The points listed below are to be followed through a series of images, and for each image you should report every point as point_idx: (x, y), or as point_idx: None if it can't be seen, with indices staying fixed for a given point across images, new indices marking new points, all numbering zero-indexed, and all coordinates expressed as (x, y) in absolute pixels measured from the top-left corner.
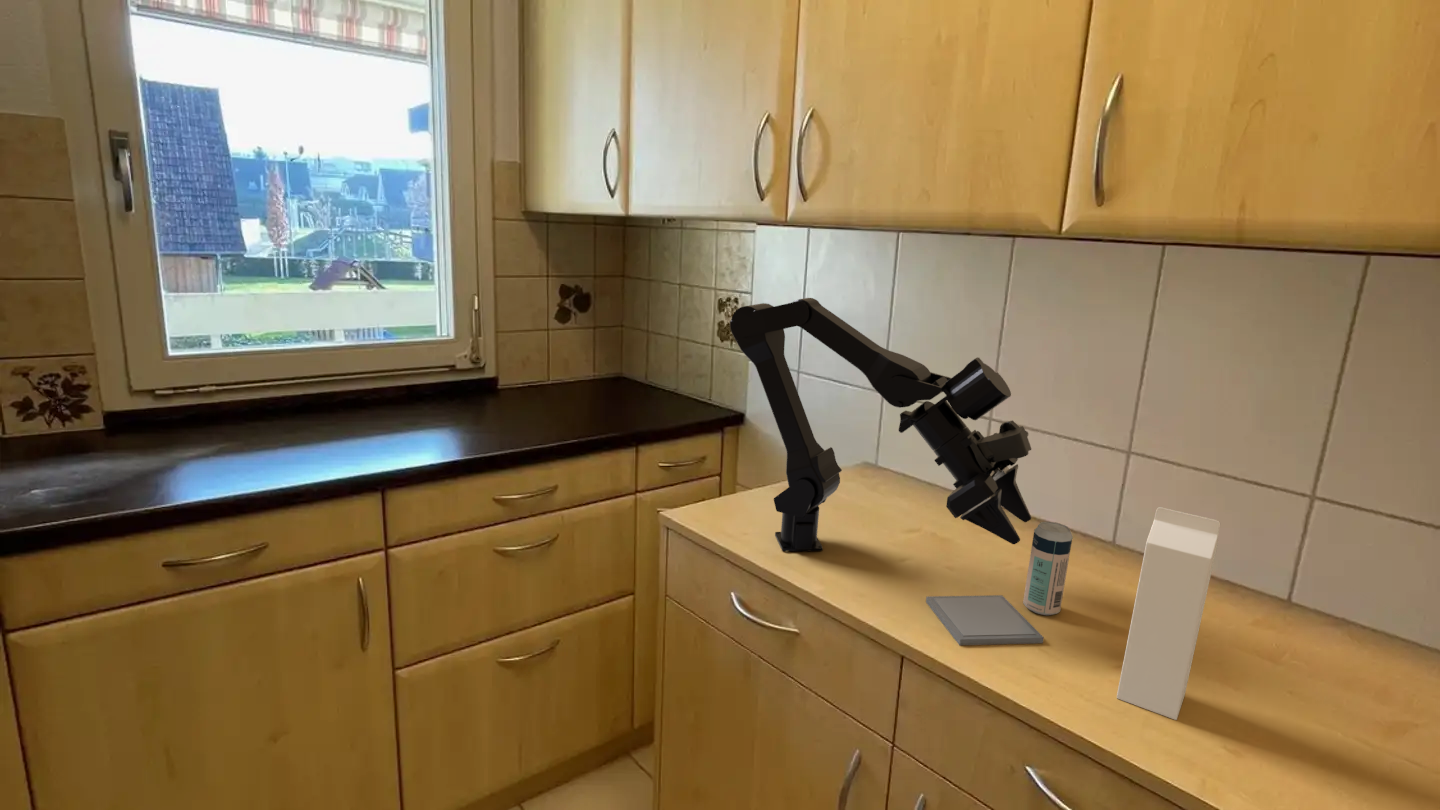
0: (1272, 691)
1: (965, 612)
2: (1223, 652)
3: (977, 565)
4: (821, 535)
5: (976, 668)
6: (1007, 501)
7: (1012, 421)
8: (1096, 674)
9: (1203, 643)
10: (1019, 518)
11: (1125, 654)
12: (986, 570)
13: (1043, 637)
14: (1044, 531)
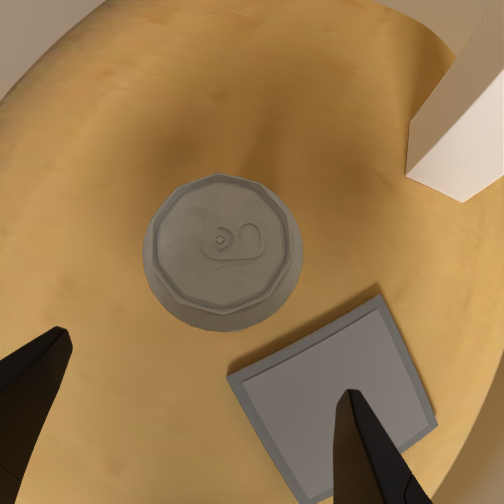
0: (336, 41)
1: None
2: (262, 53)
3: (73, 410)
4: None
5: (476, 385)
6: (19, 433)
7: None
8: (424, 218)
9: (246, 65)
10: (63, 372)
11: (502, 175)
12: (88, 394)
13: (380, 294)
14: (278, 289)
